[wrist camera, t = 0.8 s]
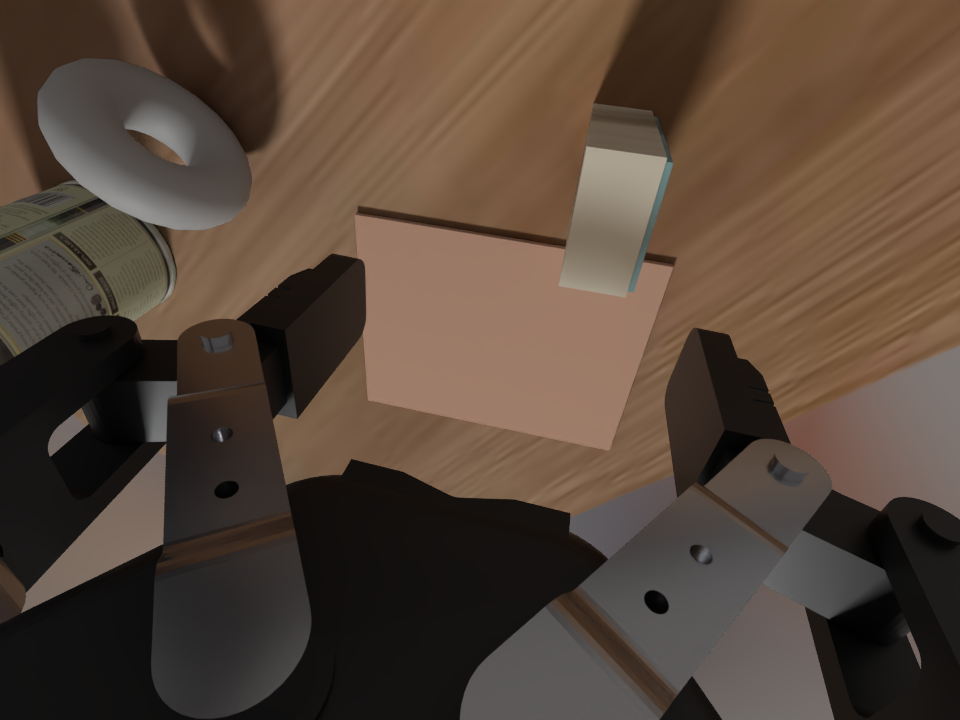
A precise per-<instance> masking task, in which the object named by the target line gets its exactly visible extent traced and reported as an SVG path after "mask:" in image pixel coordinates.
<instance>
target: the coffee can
mask: <svg viewBox="0 0 960 720" xmlns="http://www.w3.org/2000/svg"><path fill="white" fill-rule="evenodd" d="M175 282H176V268H175V264H174V261H173V257H172V254H171V251H170V249H169V247H168V245H167V243H166V241H165V240H164V238H163V237H162V235H161V234H160V232H159V231H158V229H157V228H156V227H155V226H154V224H152V223H148V222H144V221H142V220H140V219H138V218H135V217H133V216H131V215H129V214H127V213H125V212H122V211H120V210H118V209H116V208H114V207H112V206H110V205H109V204H108V203H106V202H105V201H103V200H102V199H100V198H99V197H98V196H96V195H95V194H93V193H92V192H90V191H89V190H87V189H86V188H85V187H83V186H82V185H80V184H79V183H78V181H77V180H73V181H67V182H63V183H61V184H59V185H57V186H55V187H53V188H51V189H48V190H45V191H42V192H40V193H37V194H34V195H31V196H29V197H26V198H23V199H20V200H17V201H15V202H12V203H9V204H7V205H4V206H1V207H0V366H1V365H2V364H4V363H6V362H7V361H9V360H10V359H12V358H14V357H15V356H17V355H18V354H20V353H22V352H23V351H25V350H26V349H28V348H30V347H31V346H33V345H34V344H36V343H38V342H39V341H41V340H42V339H44V338H45V337H47V336H49V335H50V334H52V333H53V332H55V331H57V330H58V329H60V328H62V327H63V326H65V325H67V324H69V323H72V322H74V321H77V320H81V319H84V318H89V317H94V316H103V315H115V316H122V317H126V318H128V319H131V320H132V321H135V320H136V319H137V318H139V317H140V316H142V315H143V314H145V313H146V312H147V311H149V310H150V309H152V308H153V307H154V306H156V305H158V304H160V303H162V302H164V301H165V300H166V299H167V298H168V297H169V296H170V295H171V293H172V291H173V290H174V286H175Z"/></svg>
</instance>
